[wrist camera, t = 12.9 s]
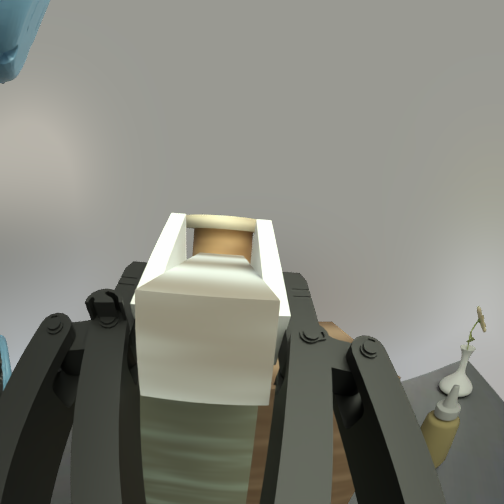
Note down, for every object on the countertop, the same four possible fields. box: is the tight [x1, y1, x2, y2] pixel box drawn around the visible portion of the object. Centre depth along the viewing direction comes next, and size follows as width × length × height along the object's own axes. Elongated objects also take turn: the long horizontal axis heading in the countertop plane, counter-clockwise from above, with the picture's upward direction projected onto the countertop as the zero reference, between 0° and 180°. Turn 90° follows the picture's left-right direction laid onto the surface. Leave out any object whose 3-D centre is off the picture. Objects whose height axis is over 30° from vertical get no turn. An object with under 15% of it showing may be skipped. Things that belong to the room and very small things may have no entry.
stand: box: [140, 322, 400, 504], centre depth 22 cm, size 14×19×29 cm
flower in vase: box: [439, 306, 486, 397], centre depth 54 cm, size 13×11×25 cm
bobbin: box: [135, 215, 280, 405], centre depth 17 cm, size 22×7×6 cm, turn 5°
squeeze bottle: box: [420, 385, 461, 469], centre depth 30 cm, size 8×8×18 cm
